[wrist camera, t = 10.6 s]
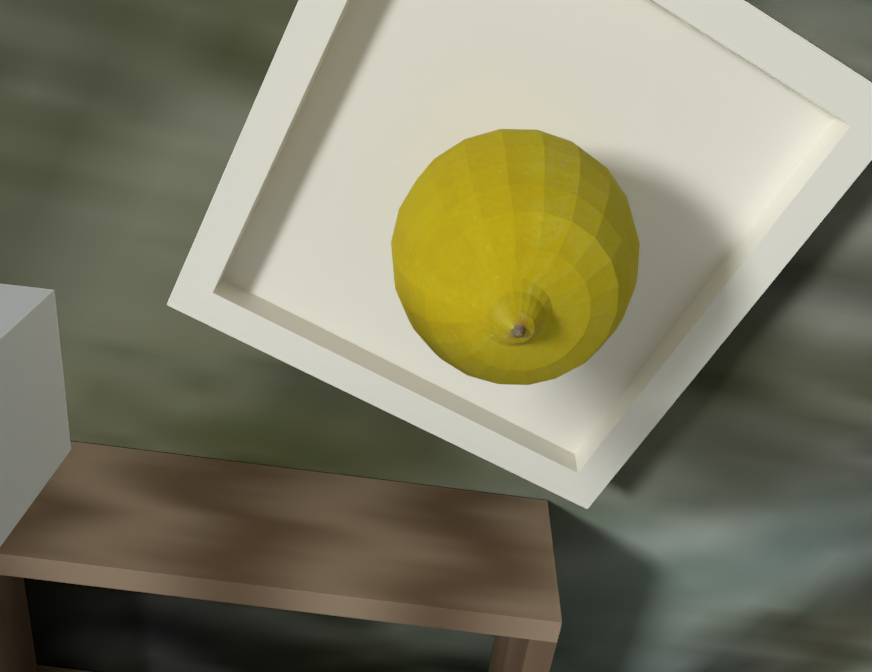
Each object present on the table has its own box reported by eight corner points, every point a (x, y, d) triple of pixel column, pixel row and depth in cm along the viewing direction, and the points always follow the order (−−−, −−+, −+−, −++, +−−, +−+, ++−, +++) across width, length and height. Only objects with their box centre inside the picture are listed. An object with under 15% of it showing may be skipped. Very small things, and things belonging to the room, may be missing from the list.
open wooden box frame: (19, 676, 33) (-61, 806, 28) (-22, 429, 28) (-130, 538, 23) (494, 733, 33) (497, 872, 28) (547, 500, 28) (562, 622, 23)
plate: (191, 274, 25) (166, 304, 23) (405, -209, 19) (396, -225, 17) (579, 467, 27) (587, 509, 25) (872, 92, 21) (913, 109, 19)
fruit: (523, 330, 24) (545, 506, 17) (365, 223, 22) (314, 364, 15) (653, 181, 21) (742, 308, 14) (486, 52, 20) (493, 122, 13)
